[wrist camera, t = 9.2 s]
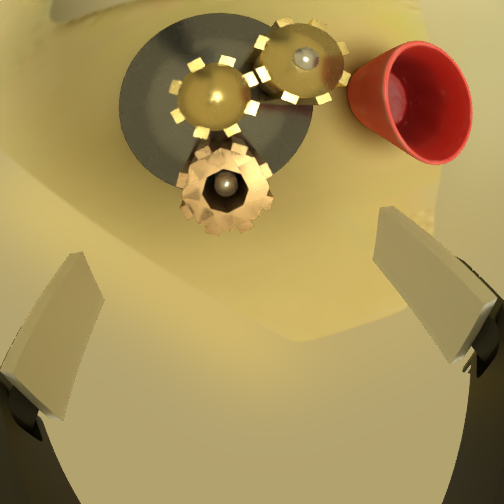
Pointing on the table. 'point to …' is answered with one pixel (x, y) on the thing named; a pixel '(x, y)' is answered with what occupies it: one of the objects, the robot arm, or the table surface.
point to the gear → (224, 207)
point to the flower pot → (414, 101)
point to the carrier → (227, 90)
